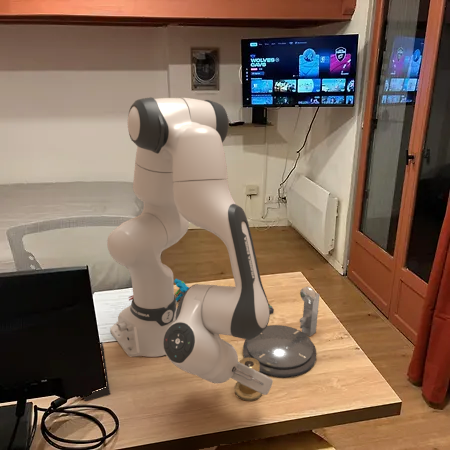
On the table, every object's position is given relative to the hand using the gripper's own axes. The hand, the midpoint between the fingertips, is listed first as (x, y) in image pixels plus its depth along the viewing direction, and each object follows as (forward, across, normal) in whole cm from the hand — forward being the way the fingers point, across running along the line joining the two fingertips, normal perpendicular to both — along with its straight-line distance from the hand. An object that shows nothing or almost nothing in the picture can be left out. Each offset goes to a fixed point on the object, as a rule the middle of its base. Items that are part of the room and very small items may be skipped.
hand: (242, 373), depth 106 cm
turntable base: (+20, +2, -9) cm, 22 cm away
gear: (+24, +42, -13) cm, 50 cm away
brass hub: (+7, 0, +3) cm, 8 cm away
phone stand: (-8, +31, +19) cm, 37 cm away
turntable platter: (+18, +2, -10) cm, 21 cm away
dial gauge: (+28, +1, -18) cm, 34 cm away
